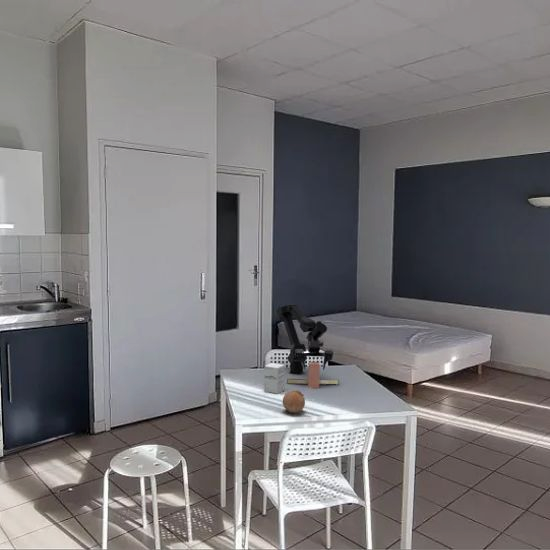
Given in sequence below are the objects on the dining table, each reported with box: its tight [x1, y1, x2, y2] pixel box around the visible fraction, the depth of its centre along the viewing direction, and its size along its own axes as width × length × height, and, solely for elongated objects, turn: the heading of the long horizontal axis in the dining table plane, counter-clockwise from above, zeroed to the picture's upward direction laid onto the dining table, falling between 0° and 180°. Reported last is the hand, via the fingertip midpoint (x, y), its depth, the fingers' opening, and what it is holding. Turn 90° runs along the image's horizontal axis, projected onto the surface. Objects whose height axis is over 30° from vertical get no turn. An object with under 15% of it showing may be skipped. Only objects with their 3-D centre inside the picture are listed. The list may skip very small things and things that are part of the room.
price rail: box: [286, 378, 340, 386], centre depth 259 cm, size 3×26×2 cm, turn 90°
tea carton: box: [307, 361, 321, 389], centre depth 254 cm, size 4×5×12 cm
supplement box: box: [263, 362, 286, 395], centre depth 245 cm, size 7×7×13 cm
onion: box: [282, 390, 306, 414], centre depth 217 cm, size 10×9×10 cm
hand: (314, 369), depth 252 cm, fingers open, 9 cm apart
